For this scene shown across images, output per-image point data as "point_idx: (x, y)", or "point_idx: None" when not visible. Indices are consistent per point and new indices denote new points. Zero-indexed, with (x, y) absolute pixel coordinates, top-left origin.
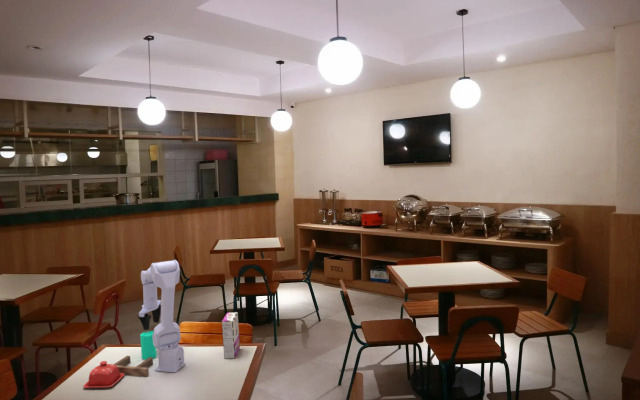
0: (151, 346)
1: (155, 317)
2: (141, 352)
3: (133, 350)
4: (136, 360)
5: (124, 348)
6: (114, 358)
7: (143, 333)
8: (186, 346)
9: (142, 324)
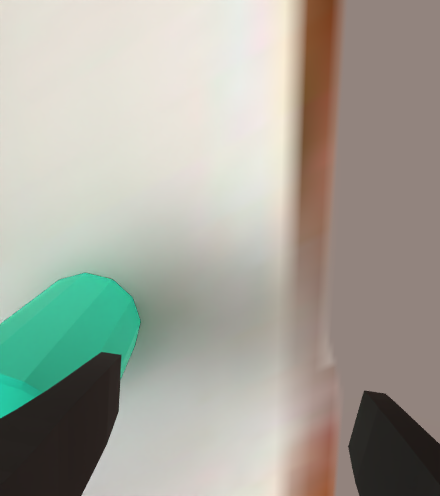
0: None
1: (392, 488)
2: (36, 297)
3: (210, 128)
4: (25, 254)
5: (253, 15)
6: (37, 44)
7: (7, 384)
8: (285, 485)
9: (40, 400)
